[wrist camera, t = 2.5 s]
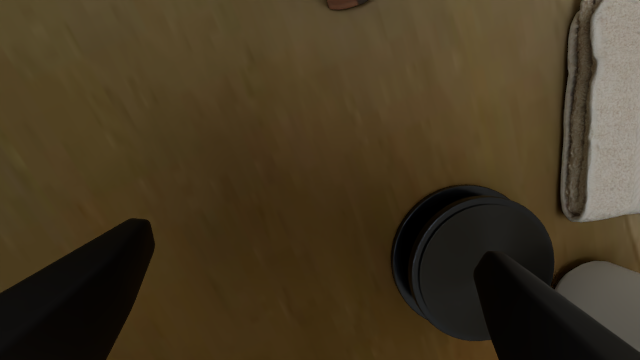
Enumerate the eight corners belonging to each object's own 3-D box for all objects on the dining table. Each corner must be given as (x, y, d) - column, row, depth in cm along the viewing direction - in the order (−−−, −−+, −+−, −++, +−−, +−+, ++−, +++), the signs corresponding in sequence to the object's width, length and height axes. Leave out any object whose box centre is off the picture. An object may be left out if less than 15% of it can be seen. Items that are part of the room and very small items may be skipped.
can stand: (512, 328, 26) (544, 355, 23) (379, 316, 25) (393, 342, 22) (541, 194, 25) (579, 201, 22) (404, 175, 24) (422, 179, 21)
